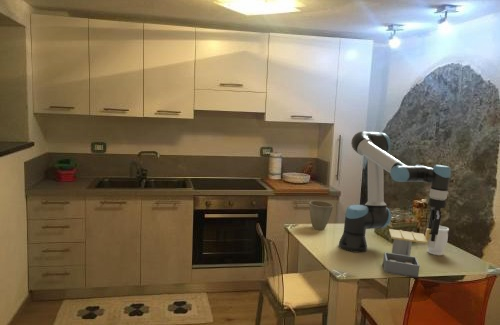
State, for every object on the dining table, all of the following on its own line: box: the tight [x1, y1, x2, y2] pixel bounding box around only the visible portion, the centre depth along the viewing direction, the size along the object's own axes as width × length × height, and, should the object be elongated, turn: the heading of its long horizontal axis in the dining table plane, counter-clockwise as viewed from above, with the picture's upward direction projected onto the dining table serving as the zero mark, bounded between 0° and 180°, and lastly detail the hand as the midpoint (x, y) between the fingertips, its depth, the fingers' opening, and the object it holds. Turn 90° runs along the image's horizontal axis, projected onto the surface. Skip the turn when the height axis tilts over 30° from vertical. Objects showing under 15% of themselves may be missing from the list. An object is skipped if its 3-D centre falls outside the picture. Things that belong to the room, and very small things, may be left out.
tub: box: [382, 252, 421, 279], centre depth 202 cm, size 15×12×6 cm
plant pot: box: [308, 200, 334, 231], centre depth 261 cm, size 15×15×16 cm
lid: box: [388, 227, 437, 245], centre depth 200 cm, size 21×13×5 cm, turn 76°
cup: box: [391, 239, 413, 256], centre depth 221 cm, size 9×9×12 cm
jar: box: [426, 224, 450, 256], centre depth 232 cm, size 11×10×15 cm
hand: (430, 246), depth 198 cm, fingers closed on lid, 3 cm apart
